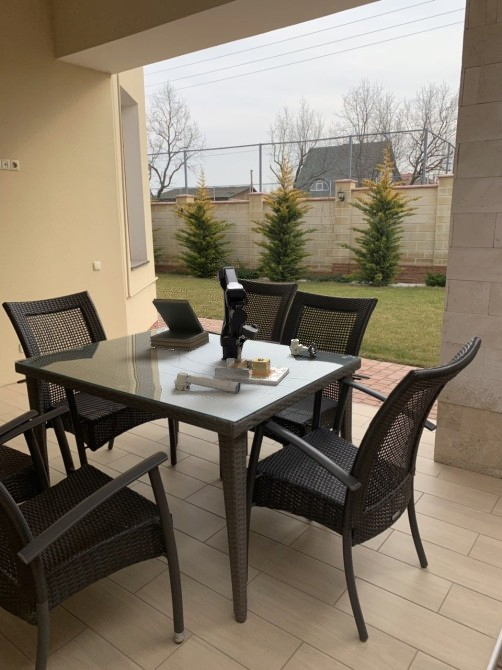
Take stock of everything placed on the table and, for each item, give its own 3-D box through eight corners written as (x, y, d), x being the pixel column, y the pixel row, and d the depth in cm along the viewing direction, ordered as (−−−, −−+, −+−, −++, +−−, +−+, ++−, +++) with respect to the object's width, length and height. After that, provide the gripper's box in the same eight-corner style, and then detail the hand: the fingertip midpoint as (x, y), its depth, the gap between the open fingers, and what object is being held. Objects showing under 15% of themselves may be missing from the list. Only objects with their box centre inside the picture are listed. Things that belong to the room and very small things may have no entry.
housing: (252, 373, 191) (251, 360, 190) (256, 369, 196) (255, 357, 195) (266, 374, 189) (266, 361, 188) (270, 370, 194) (270, 358, 193)
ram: (228, 373, 192) (227, 350, 190) (237, 366, 201) (237, 344, 199) (238, 374, 190) (237, 350, 188) (247, 367, 200) (246, 344, 198)
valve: (287, 355, 224) (310, 358, 217) (287, 341, 222) (310, 344, 215) (294, 351, 229) (317, 355, 222) (294, 338, 227) (317, 341, 220)
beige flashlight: (237, 384, 172) (172, 371, 178) (235, 402, 173) (171, 388, 180) (241, 380, 177) (178, 367, 183) (239, 397, 178) (177, 384, 185)
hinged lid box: (209, 342, 253) (206, 295, 247) (190, 352, 235) (187, 300, 230) (171, 340, 262) (168, 293, 256) (150, 348, 244) (146, 299, 238)
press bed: (212, 379, 190) (212, 368, 189) (229, 367, 207) (229, 356, 206) (276, 385, 182) (276, 373, 181) (289, 371, 198) (289, 360, 197)
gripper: (247, 324, 180) (248, 365, 183) (263, 315, 197) (264, 353, 200) (219, 323, 184) (221, 363, 187) (237, 314, 201) (239, 351, 204)
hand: (237, 357), depth 195 cm, fingers closed on ram, 3 cm apart
